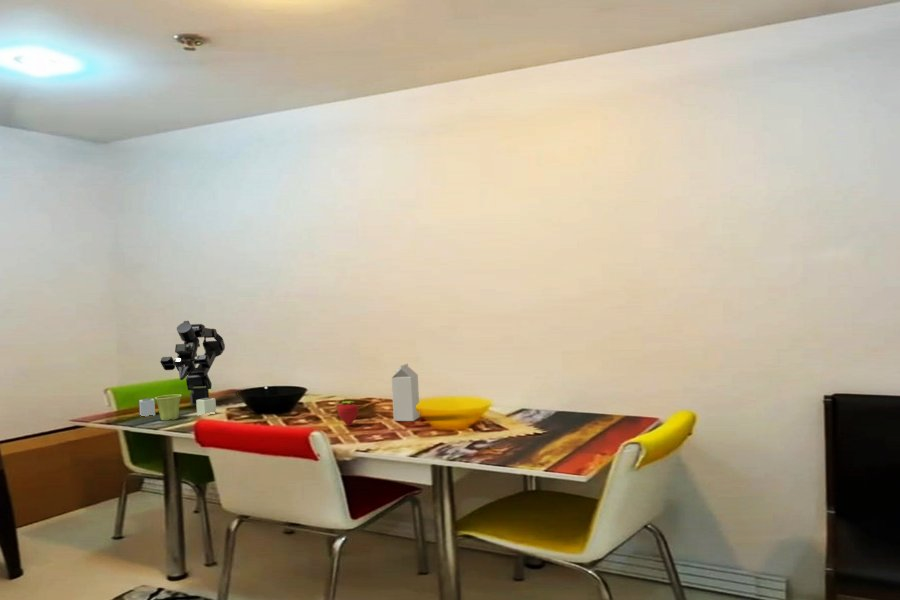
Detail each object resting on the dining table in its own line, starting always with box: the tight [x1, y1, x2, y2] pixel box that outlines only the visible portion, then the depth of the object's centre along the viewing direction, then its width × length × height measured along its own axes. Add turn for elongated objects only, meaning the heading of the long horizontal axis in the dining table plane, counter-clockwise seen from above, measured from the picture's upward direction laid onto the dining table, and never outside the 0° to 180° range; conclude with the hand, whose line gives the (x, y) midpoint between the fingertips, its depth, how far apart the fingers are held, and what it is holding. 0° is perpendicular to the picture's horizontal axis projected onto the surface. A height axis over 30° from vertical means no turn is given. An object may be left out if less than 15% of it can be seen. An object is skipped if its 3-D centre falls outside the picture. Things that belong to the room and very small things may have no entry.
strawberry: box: [337, 396, 359, 427], centre depth 228 cm, size 6×8×10 cm
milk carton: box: [391, 363, 421, 422], centre depth 234 cm, size 7×7×19 cm
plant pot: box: [154, 393, 182, 421], centre depth 256 cm, size 9×9×9 cm
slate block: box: [138, 398, 156, 417], centre depth 267 cm, size 5×5×6 cm
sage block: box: [195, 397, 217, 417], centre depth 262 cm, size 5×5×6 cm
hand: (181, 379), depth 270 cm, fingers closed
